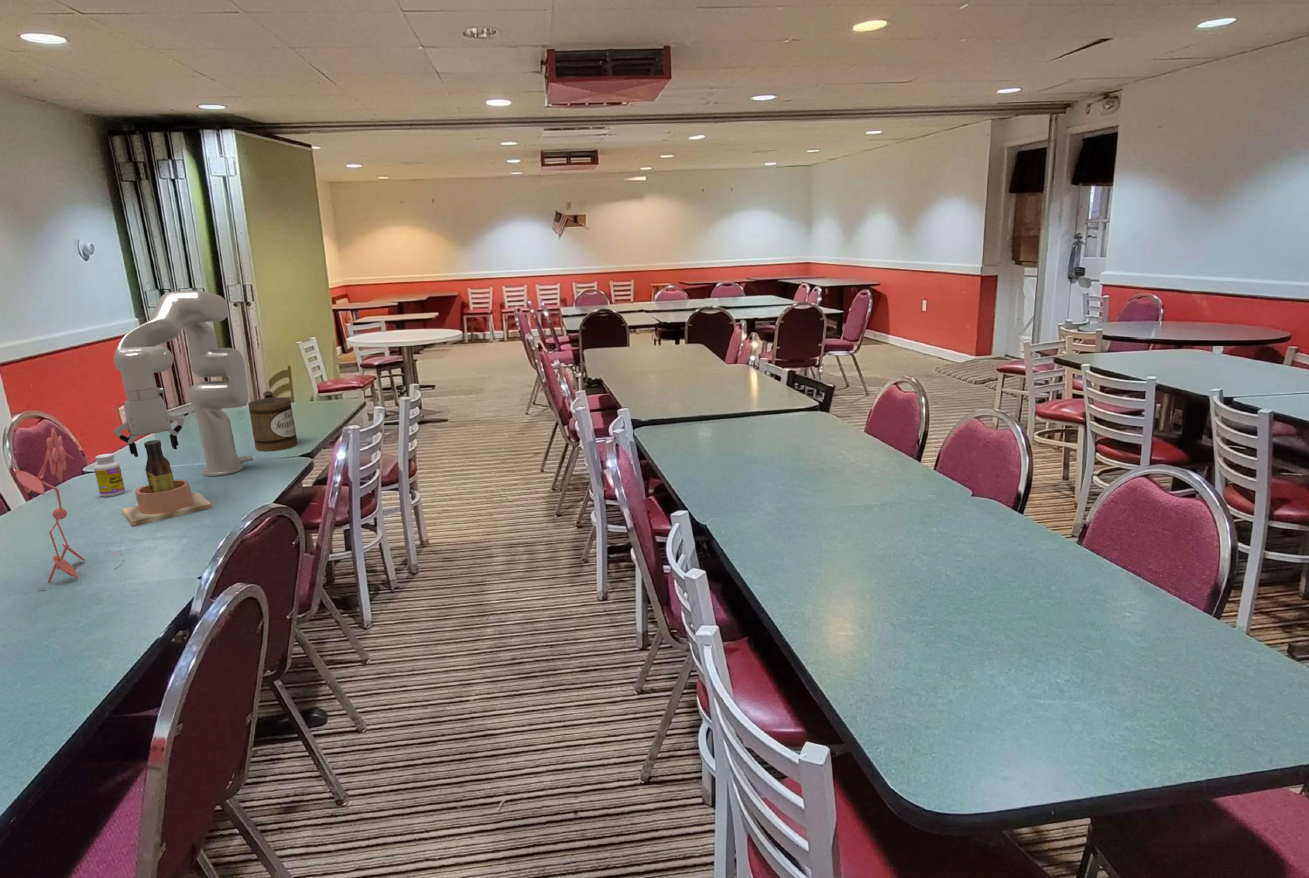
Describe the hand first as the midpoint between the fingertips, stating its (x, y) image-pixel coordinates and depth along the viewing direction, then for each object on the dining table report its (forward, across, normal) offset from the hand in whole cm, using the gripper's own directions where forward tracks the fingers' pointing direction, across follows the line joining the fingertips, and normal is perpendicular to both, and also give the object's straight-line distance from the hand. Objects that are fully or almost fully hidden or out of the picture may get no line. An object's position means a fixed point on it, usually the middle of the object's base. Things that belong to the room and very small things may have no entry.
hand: (155, 452), depth 217 cm
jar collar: (+16, 0, +1) cm, 16 cm away
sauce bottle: (+17, 0, 0) cm, 17 cm away
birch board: (+18, 0, +1) cm, 18 cm away
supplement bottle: (+19, +10, -33) cm, 39 cm away
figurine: (+17, +24, +36) cm, 46 cm away
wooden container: (+20, -46, -55) cm, 75 cm away
